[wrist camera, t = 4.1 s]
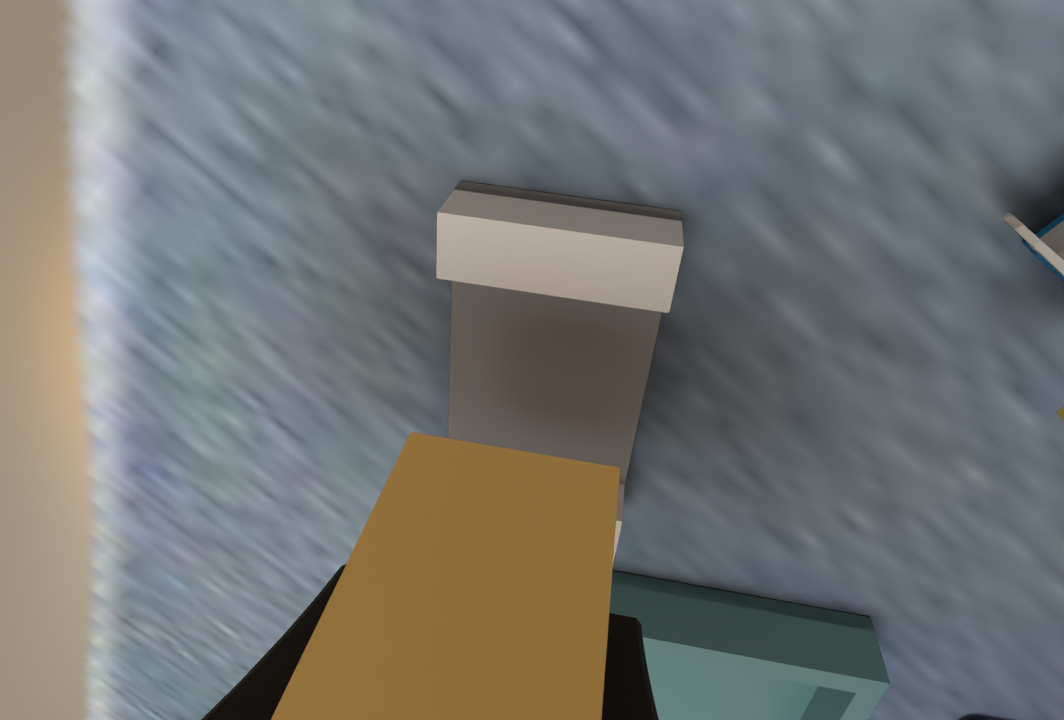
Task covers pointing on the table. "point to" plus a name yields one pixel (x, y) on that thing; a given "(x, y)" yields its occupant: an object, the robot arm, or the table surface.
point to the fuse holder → (554, 319)
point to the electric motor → (1044, 248)
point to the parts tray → (750, 654)
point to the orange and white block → (469, 593)
